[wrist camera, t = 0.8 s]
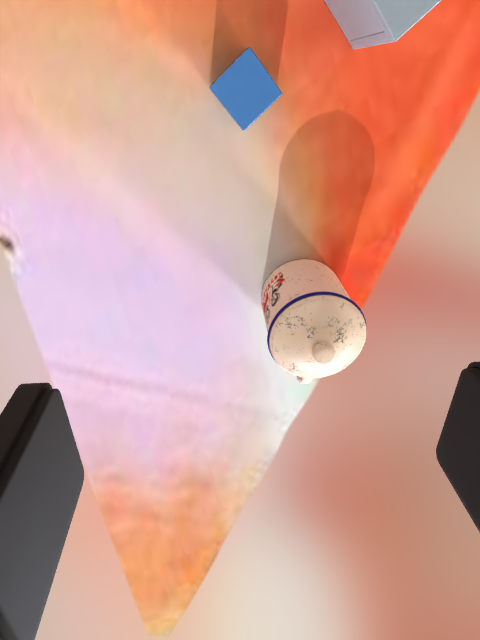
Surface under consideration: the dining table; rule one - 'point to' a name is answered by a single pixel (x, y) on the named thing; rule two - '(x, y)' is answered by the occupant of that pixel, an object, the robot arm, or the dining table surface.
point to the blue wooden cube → (246, 89)
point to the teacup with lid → (311, 320)
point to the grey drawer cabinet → (377, 19)
